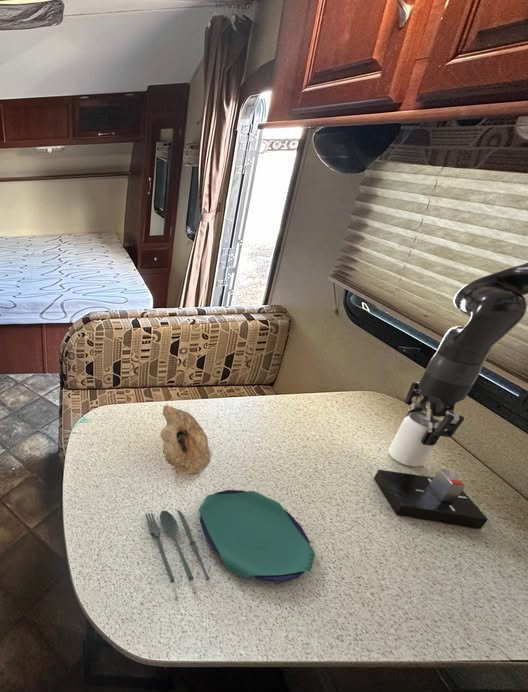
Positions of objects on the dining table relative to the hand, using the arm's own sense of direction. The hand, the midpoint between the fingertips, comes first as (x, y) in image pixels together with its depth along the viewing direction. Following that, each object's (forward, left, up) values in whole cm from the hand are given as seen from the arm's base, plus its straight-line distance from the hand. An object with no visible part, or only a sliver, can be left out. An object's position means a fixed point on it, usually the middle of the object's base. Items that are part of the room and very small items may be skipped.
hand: (417, 433), depth 87 cm
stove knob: (+1, +14, -5) cm, 15 cm away
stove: (+3, +14, -8) cm, 16 cm away
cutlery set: (+45, +33, -8) cm, 56 cm away
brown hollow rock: (+52, +10, -8) cm, 54 cm away
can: (0, 0, -8) cm, 8 cm away
